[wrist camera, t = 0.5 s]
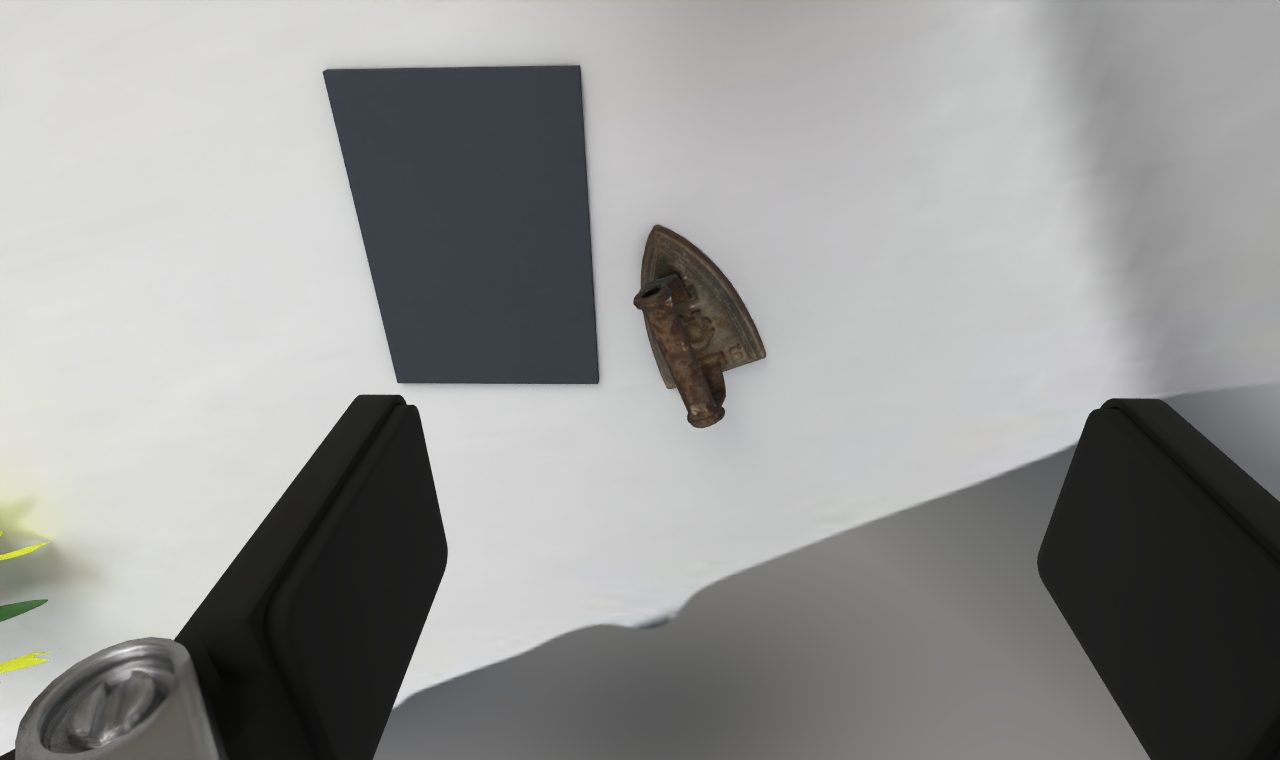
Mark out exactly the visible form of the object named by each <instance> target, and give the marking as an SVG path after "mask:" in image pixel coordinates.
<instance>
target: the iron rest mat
mask: <svg viewBox="0 0 1280 760" xmlns="http://www.w3.org/2000/svg"><path fill="white" fill-rule="evenodd" d="M323 75H324V79H325V84H326V88H327V92H328V96H329V100H330V104H331V109H332V113H333V117H334V121H335V125H336V129H337V133H338V138H339V142H340V146H341V150H342V154H343V158H344V163H345V167H346V171H347V175H348V179H349V183H350V188H351V192H352V196H353V200H354V204H355V208H356V212H357V217H358V221H359V225H360V229H361V233H362V237H363V242H364V246H365V250H366V254H367V258H368V262H369V266H370V271H371V275H372V279H373V283H374V287H375V291H376V296H377V300H378V304H379V308H380V312H381V316H382V321H383V325H384V329H385V333H386V337H387V341H388V345H389V350H390V354H391V358H392V362H393V366H394V370H395V375H396V379H397V383H480V384H598V383H599V371H598V354H597V338H596V321H595V305H594V288H593V272H592V255H591V239H590V222H589V206H588V189H587V173H586V156H585V140H584V123H583V107H582V90H581V73H580V66H518V67H458V68H397V69H336V70H325V71H323Z"/></svg>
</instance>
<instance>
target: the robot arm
mask: <svg viewBox="0 0 1280 760" xmlns="http://www.w3.org/2000/svg"><path fill="white" fill-rule="evenodd" d="M447 555H448V548H447V542H446V537H445V532H444V528H443V523H442V518H441V513H440V509H439V504H438V499H437V495H436V490H435V485H434V480H433V476H432V471H431V466H430V462H429V457H428V452H427V448H426V443H425V438H424V433H423V429H422V424H421V419H420V415H419V411H418V409H417V407H416V406H414V405H407V404H406V401H405V400H404V398H403V397H402V396H400V395H359V396H357V397H356V398H355V399H354V401H353V402H352V403H351V405H350V406H349V407H348V409H347V410H346V411H345V413H344V414H343V415H342V417H341V418H340V419H339V421H338V422H337V423H336V425H335V426H334V427H333V429H332V430H331V431H330V433H329V434H328V435H327V437H326V438H325V439H324V441H323V442H322V443H321V445H320V446H319V447H318V449H317V450H316V451H315V453H314V454H313V455H312V457H311V458H310V459H309V461H308V462H307V463H306V465H305V466H304V467H303V469H302V470H301V471H300V473H299V474H298V475H297V477H296V478H295V479H294V481H293V482H292V483H291V485H290V486H289V487H288V489H287V490H286V491H285V493H284V494H283V495H282V497H281V498H280V499H279V501H278V502H277V503H276V505H275V506H274V507H273V509H272V510H271V511H270V513H269V514H268V515H267V517H266V518H265V519H264V521H263V522H262V523H261V525H260V526H259V527H258V529H257V530H256V531H255V533H254V534H253V535H252V537H251V538H250V539H249V541H248V542H247V543H246V545H245V546H244V547H243V549H242V550H241V551H240V553H239V554H238V555H237V557H236V558H235V559H234V561H233V562H232V563H231V565H230V566H229V567H228V569H227V570H226V571H225V573H224V574H223V575H222V577H221V578H220V579H219V581H218V582H217V583H216V585H215V586H214V587H213V589H212V590H211V591H210V593H209V594H208V595H207V597H206V598H205V599H204V601H203V602H202V603H201V605H200V606H199V607H198V609H197V610H196V611H195V613H194V614H193V615H192V617H191V618H190V619H189V621H188V622H187V623H186V625H185V626H184V627H183V629H182V630H181V631H180V633H179V634H178V635H177V637H176V638H175V639H174V641H173V640H171V639H165V638H155V637H149V638H142V639H136V640H129V641H126V642H123V643H120V644H117V645H114V646H111V647H108V648H106V649H103V650H101V651H99V652H97V653H95V654H93V655H91V656H89V657H88V658H86V659H84V660H82V661H80V662H78V663H76V664H75V665H74V666H72V667H71V668H70V669H68V670H67V671H66V672H64V673H63V674H61V675H60V676H59V677H57V678H56V679H55V680H53V681H52V682H51V683H50V684H49V685H48V686H47V687H46V688H45V690H44V691H43V692H42V693H41V694H40V695H39V696H38V697H37V698H36V699H35V700H34V701H33V702H32V704H31V706H30V707H29V709H28V710H27V712H26V714H25V715H24V717H23V718H22V720H21V721H20V725H19V729H18V733H17V737H16V741H15V749H14V750H12V751H10V752H8V753H6V754H4V755H2V756H0V760H373V757H374V754H375V752H376V749H377V746H378V744H379V741H380V739H381V736H382V733H383V731H384V728H385V726H386V723H387V721H388V718H389V715H390V713H391V710H392V707H393V705H394V702H395V700H396V697H397V694H398V692H399V689H400V687H401V684H402V681H403V679H404V676H405V674H406V671H407V668H408V666H409V663H410V660H411V658H412V655H413V653H414V650H415V647H416V645H417V642H418V640H419V637H420V634H421V632H422V629H423V626H424V624H425V621H426V619H427V616H428V613H429V611H430V608H431V606H432V603H433V600H434V598H435V595H436V593H437V590H438V587H439V585H440V582H441V579H442V577H443V574H444V572H445V568H446V564H447ZM1037 564H1038V571H1039V574H1040V577H1041V579H1042V582H1043V583H1044V585H1045V587H1046V588H1047V590H1048V591H1049V593H1050V595H1051V596H1052V598H1053V600H1054V601H1055V603H1056V605H1057V606H1058V608H1059V609H1060V611H1061V613H1062V615H1063V616H1064V618H1065V619H1066V621H1067V623H1068V624H1069V626H1070V627H1071V629H1072V631H1073V633H1074V634H1075V636H1076V638H1077V639H1078V641H1079V642H1080V644H1081V646H1082V647H1083V649H1084V651H1085V652H1086V654H1087V655H1088V657H1089V659H1090V661H1091V662H1092V664H1093V665H1094V667H1095V669H1096V670H1097V672H1098V674H1099V675H1100V677H1101V678H1102V680H1103V682H1104V684H1105V685H1106V687H1107V688H1108V690H1109V692H1110V693H1111V695H1112V697H1113V698H1114V700H1115V702H1116V703H1117V705H1118V706H1119V708H1120V710H1121V711H1122V713H1123V715H1124V716H1125V718H1126V720H1127V721H1128V723H1129V725H1130V726H1131V728H1132V730H1133V731H1134V733H1135V735H1136V736H1137V738H1138V739H1139V741H1140V743H1141V744H1142V746H1143V748H1144V749H1145V751H1146V753H1147V754H1148V756H1149V757H1150V759H1151V760H1280V502H1279V501H1278V500H1277V499H1276V498H1275V497H1273V496H1272V495H1271V494H1270V493H1269V492H1268V491H1267V490H1265V489H1264V488H1263V487H1262V486H1261V485H1259V484H1258V483H1257V482H1256V481H1255V480H1254V479H1253V478H1252V477H1250V476H1249V475H1248V474H1247V473H1246V472H1245V471H1244V470H1242V469H1241V468H1240V467H1239V466H1238V465H1237V464H1236V463H1234V462H1233V461H1232V460H1231V459H1230V458H1229V457H1227V456H1226V455H1225V454H1224V453H1223V452H1222V451H1221V450H1219V449H1218V448H1217V447H1216V446H1215V445H1214V444H1212V443H1211V442H1210V441H1209V440H1208V439H1207V438H1206V437H1204V436H1203V435H1202V434H1201V433H1200V432H1198V431H1197V430H1196V429H1195V428H1194V427H1193V426H1192V425H1191V424H1190V423H1188V422H1187V421H1186V420H1185V419H1184V418H1183V417H1181V416H1180V415H1179V414H1178V413H1177V412H1176V411H1174V410H1173V409H1172V408H1171V407H1170V406H1169V405H1168V404H1167V403H1165V402H1163V401H1162V400H1160V399H1123V398H1113V399H1110V400H1107V401H1106V402H1105V403H1104V404H1103V405H1102V406H1101V408H1100V409H1096V410H1093V411H1092V412H1091V413H1090V414H1089V416H1088V418H1087V420H1086V423H1085V426H1084V429H1083V431H1082V434H1081V437H1080V440H1079V442H1078V445H1077V448H1076V451H1075V453H1074V456H1073V459H1072V462H1071V465H1070V467H1069V470H1068V473H1067V476H1066V478H1065V481H1064V484H1063V487H1062V489H1061V492H1060V495H1059V498H1058V500H1057V503H1056V506H1055V509H1054V512H1053V515H1052V517H1051V520H1050V523H1049V525H1048V528H1047V531H1046V534H1045V536H1044V539H1043V542H1042V545H1041V547H1040V550H1039V554H1038V561H1037Z"/></svg>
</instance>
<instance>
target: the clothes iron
mask: <svg viewBox="0 0 1280 760" xmlns="http://www.w3.org/2000/svg"><path fill="white" fill-rule="evenodd" d="M633 303H634V305H635V306H636V307H637V308H638V309H640V310H642V311H643V314H644V319H645V325H646V329H647V333H648V337H649V341H650V344H651V347H652V351H653V354H654V357H655V359H656V362H657V365H658V368H659V370H660V373H661V376H662V378H663V380H664V383H665V385H666V387H667V389H673V388H676V387H677V389H678V391H679V393H680V395H681V398H682V400H683V402H684V404H685V406H686V409H687V411H688V415H687V420H688V422H689V423H691V425H692V426H693V427H696V428H705V427H708V426H711V425H713V424H715V423H717V422H718V421H720V420H721V419H722V418H723V417H724V415H725V410H724V408H723V407H722V404H723V402H724V400H725V397H726V388H725V382H724V377H723V373H722V372H724V371H727V370H730V369H733V368H736V367H739V366H742V365H745V364H748V363H751V362H754V361H757V360H760V359H763V358H765V357H766V352H765V349H764V346H763V343H762V341H761V338H760V336H759V334H758V331H757V329H756V326H755V324H754V322H753V320H752V318H751V316H750V314H749V312H748V311H747V309H746V307H745V305H744V303H743V302H742V300H741V298H740V296H739V295H738V293H737V292H736V290H735V289H734V287H733V286H732V285H731V283H730V282H729V281H728V279H727V278H726V277H725V275H724V274H723V273H722V272H721V271H720V269H719V268H718V267H717V266H716V265H715V264H714V263H713V262H712V261H711V260H710V259H709V258H708V257H707V256H706V255H705V254H704V253H703V252H702V251H701V250H699V249H698V248H697V247H696V246H694V245H693V244H692V243H690V242H689V241H688V240H686V239H685V238H683V237H682V236H680V235H678V234H676V233H674V232H673V231H671V230H669V229H667V228H664V227H661V226H659V225H656V226H654V227H653V229H652V231H651V233H650V235H649V237H648V240H647V243H646V246H645V252H644V256H643V261H642V271H641V290H640V292H639V293H638V294H637V295H636V296H635V298H634V302H633Z"/></svg>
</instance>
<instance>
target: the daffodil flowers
mask: <svg viewBox="0 0 1280 760" xmlns="http://www.w3.org/2000/svg"><path fill="white" fill-rule="evenodd" d="M2 534H3V532H0V536H1V535H2ZM50 542H51V541H50ZM46 543H48V542H46ZM46 543H42V544H38V545H34V546H31V547H27V548H24V549H20V550H17V551H13V552H10V553H6V554H2V555H0V560H5V559H9V558H14V557H17V556H20V555H23V554H27V553H30V552H32V551H34V550H35V549H37V548H39V547H40V546H42V545H44V544H46ZM47 601H48V600H34V601H27V602H20V603H15V604H9V605H4V606H0V622H2V621H4V620H7V619H10V618H12V617H15V616H17V615H20V614H22V613H25V612H27V611H29V610H32V609H34V608H36V607H38V606H40V605H42V604H44V603H46V602H47ZM60 649H61V648H60ZM49 652H51V651H49ZM45 653H48V652H43V653H31V654H28V655H25V656H21V657H18V658H15V659H12V660H9V661H6V662H4V663H1V664H0V673H4V672H8V671H12V670H16V669H20V668H24V667H28V666H32V665H36V664H39V663H43V662H46V661H50V660H44V659H38V658H32V657H35V656H38V655H41V654H45ZM0 683H1V682H0Z"/></svg>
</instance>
